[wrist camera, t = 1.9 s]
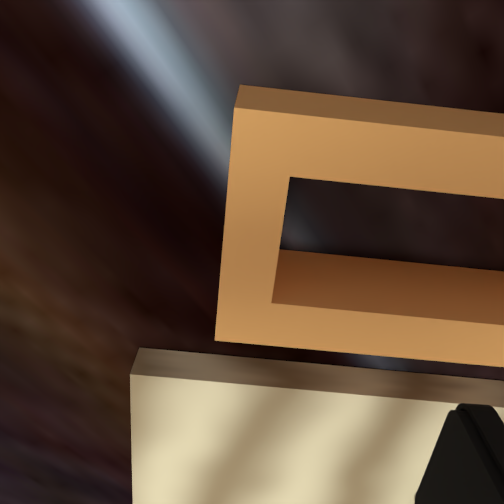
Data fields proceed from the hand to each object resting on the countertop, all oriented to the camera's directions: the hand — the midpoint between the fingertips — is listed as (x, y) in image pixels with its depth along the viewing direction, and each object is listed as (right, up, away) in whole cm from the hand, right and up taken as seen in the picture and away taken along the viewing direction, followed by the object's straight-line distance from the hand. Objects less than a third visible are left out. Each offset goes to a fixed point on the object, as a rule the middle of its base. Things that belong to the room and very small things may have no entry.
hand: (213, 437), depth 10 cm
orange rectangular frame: (+8, +6, +11) cm, 15 cm away
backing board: (+7, -9, +19) cm, 23 cm away
